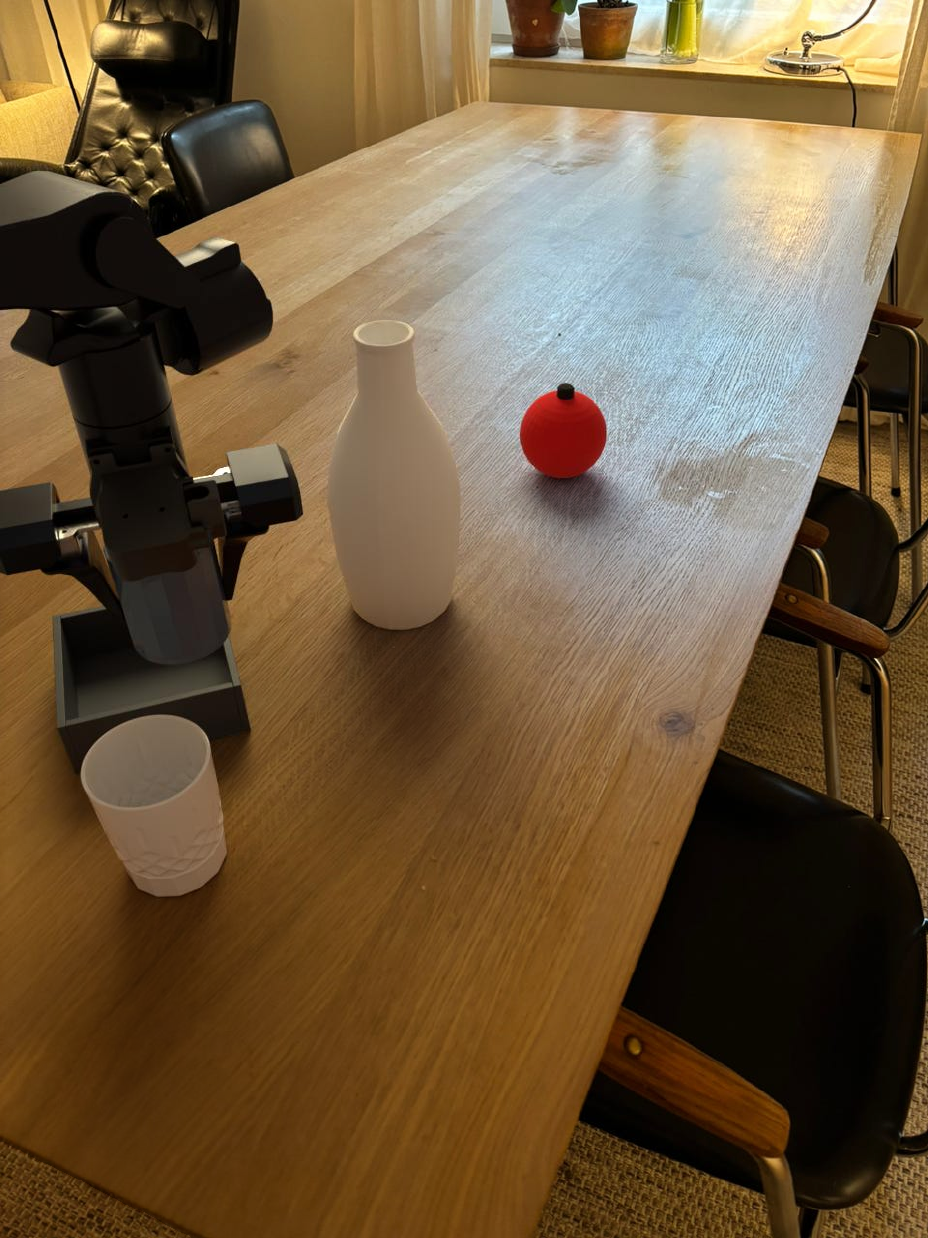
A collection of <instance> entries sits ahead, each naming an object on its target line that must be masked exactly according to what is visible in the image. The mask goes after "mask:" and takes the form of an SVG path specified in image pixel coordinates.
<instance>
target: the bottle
mask: <svg viewBox="0 0 928 1238" xmlns="http://www.w3.org/2000/svg"><path fill="white" fill-rule="evenodd" d="M352 341H353V342H354V344H355V353H356V354H355V355H356V357H355V358H356V387H357V388H356V389H357V390H356V391H357V392H356V393H355V395H354V398H353V400H352V401H351V404H350V406H349V408H348V409H347V411H346V413H345V415H344V417H343V419H342V421H341V423H340V425H339V427H338V428H337V429H338V430H337V434H336V437H335V441H334V445H333V446H334V447H333V451H332V455H331V459H330V463H329V468H328V477H327V491H326V492H327V493H326V504H327V510H328V515H329V520H330V526H331V532H332V537H333V543H334V544H333V545H334V550H335V554H336V558H337V562H338V565H339V568H340V572H341V575H342V578H343V581H344V584H345V588H346V591H347V594H348V597H349V600H350V604H351V607H352V610H353V611H354V612H355V613H356V614H357V615H358V616H359V617H360V618H361V619H362V620H364V621H365V622H367V623H369V624H370V625H373V626H375V627H377V628H380V629H381V628H382V629H386V630H391V631H392V630H393V631H406V630H411V629H417V628H420V627H423V626H425V625H428V624H430V623H432V622H434V621H435V620H436V619H437V618H438V617H440V616H441V615H442V614H443V613H444V612H445V611H446V610H447V608H448V606H449V604H450V603H451V601H452V597H453V590H454V585H455V580H456V573H457V568H458V561H459V554H460V553H459V551H460V531H461V530H460V529H461V528H460V527H461V526H460V525H461V507H462V506H461V505H462V503H461V502H462V488H461V483H460V478H459V471H458V467H457V462H456V461H457V460H456V458H455V456H454V452H453V450H452V447H451V445H450V442H449V440H448V437H447V434H446V432H445V431H446V430H444V426H443V425H442V424H441V422H440V420H439V419H438V417H437V415H436V414H435V413H434V411H433V410H432V409H431V407H430V406H429V404H428V403H427V401H426V400H425V399H424V397H423V395H422V394H421V392H420V391H419V389H418V383H417V372H416V363H415V353H414V344H413V343H414V342H415V331H414V328H413V327H412V326H411V325H409V324H408V323H405V322H402V321H399V320H392V319H391V320H390V319H388V320H387V319H383V320H381V319H380V320H374V321H369V322H366V323H363V324H360V325H359V326H357V327H356V328H355V329H354V330H353V334H352Z"/></svg>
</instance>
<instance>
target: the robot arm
mask: <svg viewBox="0 0 928 1238" xmlns="http://www.w3.org/2000/svg"><path fill="white" fill-rule="evenodd" d="M12 310H29V311H28V315H27V317H26V319H25V320H24V322H23V323H22V324H21V325H20V326H19V327H18V328H17V330H16V332H15V333H14V335H13V337H12V338H11V340H10V343H9V344H10V348H11V350H12V351H13V352H16V353H19V354H21V355H23V356H25V357H27V358H30V359H31V360H34V361H37V362H39V363H41V364H43V365H46V366H49V367H52V368H55V367H57V368H58V372H59V375H60V379H61V382H62V385H63V389H64V391H65V395H66V399H67V401H68V405H69V408H70V411H71V415H72V420H73V422H74V425H75V429H76V432H77V435H78V438H79V443H80V445H81V449H82V452H83V455H84V459H85V462H86V466H87V468H88V472H89V485H88V488H89V497H85V498H80V499H74V500H73V499H72V500H68V501H63V502H61V498H60V496H59V493H58V489H57V486H56V485H55V484H54V483H53V482H52V481H48V482H43V483H37V484H32V485H30V484H29V485H25V486H20V487H15V488H7V489H2V490H0V574H3V575H5V576H13V575H16V574H22V573H28V572H33V571H38V570H40V572H41V573H43V574H44V575H46V576H54V575H63V576H70V577H73V578H74V579H75V580H77V581H78V582H79V583H80V584H81V585H82V586H84V587H85V588H86V589H87V590H88V591H89V592H90V593H91V594H92V595H93V596H94V597H95V598H96V599H97V601H98V602H99V603H100V604H101V606H104V607H105V608H106V609H107V610H108V611H109V612H110V613H111V615H112V616H113V617H114V618H115V619H116V620H117V621H118V622H119V623H122V622H125V618H124V614H123V611H122V608H121V605H120V602H119V599H118V595H117V592H116V589H115V586H114V582H113V579H112V576H111V573H110V570H109V566H108V563H107V560H106V557H105V554H104V552H103V550H102V547H101V546H100V543H99V541H98V538H97V536H96V534H95V531H101V534H102V540H103V545H105V547H106V549H107V552H108V555H109V557H110V560H111V562H112V565H113V568H114V570H115V573H116V575H117V576H118V577H119V578H120V579H122V580H124V581H129V582H132V581H138V580H142V579H143V578H145V577H149V576H154V575H159V574H164V573H169V572H176V573H179V572H184V571H188V570H190V569H191V568H193V567H194V566H195V565H196V563H197V562H198V557H199V556H198V550H199V549H204V548H208V547H209V548H210V547H214V545H213V540H214V541H215V540H216V539H217V547H218V548H217V550H218V561H219V565H220V570H221V575H222V579H223V587H224V592H225V596H226V600H227V602H229V601H232V600H233V599H234V594H235V589H236V584H237V579H238V575H239V571H240V566H241V562H242V558H243V556H244V553H245V550H246V548H247V545H248V544H249V542H250V541H252V540H253V539H254V538H256V537H259V536H263V535H265V534H267V533H268V532H269V530H270V527H271V526H275V525H280V524H285V523H291V522H296V521H298V520H299V519H300V518H301V517H302V516H303V515H304V508H303V502H302V494H301V489H300V485H299V481H298V478H297V475H296V473H295V469H294V467H293V465H292V461H291V459H290V456H289V454H288V451H287V450H286V449H285V448H284V447H282V446H281V445H279V444H278V443H270V444H265V445H259V446H252V447H247V448H241V449H236V450H230V451H226V452H225V456H226V462H227V466H226V467H221V468H218V469H217V470H216V471H215V473H214V474H212V475H205V476H199V477H194V476H192V475H191V474H190V470H189V468H188V464H187V460H186V455H185V451H184V446H183V441H182V438H181V432H180V428H179V424H178V420H177V414H176V410H175V406H174V402H173V397H172V393H171V389H170V384H169V380H168V375H167V371H166V367H170V368H172V369H173V370H174V371H176V372H178V373H179V374H181V375H184V376H192V377H193V376H197V375H199V374H201V373H203V372H206V371H208V370H209V369H212V368H213V367H215V366H217V365H219V364H222V363H223V362H225V361H227V360H229V359H231V358H233V357H235V356H237V355H240V354H242V353H243V352H245V351H247V350H250V349H251V348H253V347H255V346H258V345H260V344H261V343H263V342H265V340H266V339H268V338H269V336H270V334H271V332H272V330H273V325H274V310H273V305H272V301H271V300H270V298H268V297H267V294H266V291H265V289H264V287H263V285H262V284H261V281H260V280H259V279H258V277H257V276H256V275H255V273H254V272H253V271H252V269H251V268H250V267H249V266H248V265H247V264H245V262H243V261H242V256H241V250H240V245H239V244H238V243H237V242H235V241H232V240H228V239H225V238H222V237H219V236H212V237H210V238H208V239H205V240H203V241H201V242H199V243H198V244H197V245H195V246H194V247H192V248H191V249H189V250H186V251H184V252H181V253H178V254H176V255H173V254H172V252H170V250H169V249H167V248H166V246H165V245H163V243H162V242H160V241H159V239H157V238H156V237H155V235H154V231H153V227H152V224H151V220H150V219H149V217H148V216H147V213H146V212H145V210H144V208H143V207H142V205H140V203H138V202H137V201H136V200H135V199H134V198H132V196H131V195H130V193H129V194H128V193H126V192H123V191H120V190H116V189H113V188H109V187H106V186H103V185H99V184H94V183H92V182H88V181H84V180H81V179H77V178H74V177H70V176H66V175H63V174H59V173H57V172H52V171H48V170H35V171H31V172H27V173H24V174H22V175H19V176H17V177H14V178H12V179H9V180H7V181H4V182H2V183H0V311H12Z"/></svg>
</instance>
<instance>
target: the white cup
mask: <svg viewBox="0 0 928 1238" xmlns="http://www.w3.org/2000/svg"><path fill="white" fill-rule="evenodd" d="M212 753H213V752H212V748H211V744H210V741H209V740H208V738H207V736H206V734H205V733H204V731H203V730H202V729H201V728H200V727H199V726H198V725H196V724H195V723H193V722H192V721H190V720H187V719H185V718H182V717H178V716H173V715H150V716H144V717H139V718H136V719H133V720H130V721H127V722H125V723H122V724H120V725H118V726H116V727H115V728H113V729H111V730H110V731H108V732H107V733H105V734H104V735H103V736H102V737H101V738H99V739H98V740H97V741H96V742H95V743H94V745H93V746H92V747H91V748H90V750H89V751H88V753H87V754H86V756H85V758H84V761H83V764H82V768H81V773H80V781H81V784H82V785H81V786H82V787H83V789H84V792H85V794H86V795H87V797H88V800H89V802H90V804H91V806H92V808H93V810H94V812H95V815H96V816H97V819H98V820H99V822H100V825H101V827H102V829H103V831H104V833H105V835H106V836H107V839H108V841H109V843H110V844H111V847H112V848H113V850H114V851H115V854H116V856H117V858H118V859H119V861H121V862H122V865H123V867H124V868H125V871H126V873H127V874H128V876H129V877H130V879H131V881H132V882H133V884H134V885H135V886H136V888H137V889H138V890H140V891H142V892H145V893H148V894H150V895H152V896H154V897H157V898H158V897H159V898H160V897H181V896H183V895H185V894H188V893H190V892H193V891H195V890H198V889H200V888H202V887H203V886H205V884H207V883H208V882H209V881H210V880H211V879H213V877H215V876H216V875H217V874H218V873H219V871H220V869H221V868H222V865H223V863H224V860H225V859H226V856H227V854H228V850H227V840H226V839H227V838H226V833H225V826H224V814H223V808H222V801H221V796H220V788H219V784H218V778H217V774H216V769H215V765H214V764H215V763H214V760H213V759H214V758H213V754H212Z"/></svg>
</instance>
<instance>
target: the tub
mask: <svg viewBox="0 0 928 1238" xmlns="http://www.w3.org/2000/svg"><path fill="white" fill-rule="evenodd" d="M52 637H53V638H52V639H53V662H54V663H53V664H54V666H53V667H54V688H55V689H54V691H55V708H56V709H55V710H56V711H55V715H56V716H55V717H56V729H57V732H58V734H59V737H60V739H61V742H62V744H63V747H64V749H65V752H66V755H67V756H68V759H69V762H70V765H71V766H72V769H73V771H74V774H75V775H77V774H81V768H82V764H83V761H84V758H85V756H86V754H87V753H88V751H89V750H90V748H91V747H92V746H93V745H94V743H95V742H96V741H97V740H98V739H99V738H101V737H102V736H103V735H104V734H105V733H107V732H108V731H110V730H111V729H113V728H115V727H116V726H118V725H120V724H122V723H125V722H127V721H130V720H133V719H136V718H139V717H144V716H150V715H173V716H178V717H182V718H185V719H187V720H190V721H192V722H193V723H195V724H196V725H198V726H199V727H200V728H201V729H202V730H203V731H204V733H205V734H206V736H207V738H208V740H209V742H211V741H216V740H219V739H224V738H227V737H231V736H235V735H236V736H237V735H240V734H243V733H248V732H251V731H252V727H251V724H250V719H249V714H248V709H247V705H246V701H245V695H244V691H243V687H242V683H241V678H240V674H239V670H238V666H237V663H236V658H235V654H234V650H233V646H232V642H231V638H230V635H229V636H228V638H227V639H226V641H225V642H224V643H223V644H222V646H220V647H219V648H218V649H217V650H216V651H214V652H213V653H211V654H209V655H208V656H206V657H204V658H201V659H199V660H196V661H193V662H189V663H184V664H176V665H167V664H159V663H154V662H151V661H149V660H147V659H145V658H143V657H142V656H141V655H139V654H138V653H137V651H136V650H135V648H134V646H133V643H132V640H131V637H130V634H129V631H128V628H127V624H126V621H125V622H122V623H119V622H118V621H117V620H116V619H115V618H114V617H113V616H112V615H111V613H110V612H109V611H108V610H107V609H106V608H105V607H104V606H103V605H100V606H95V607H90V608H85V609H81V610H76V611H72V612H66V613H62V614H57V615H52Z"/></svg>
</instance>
